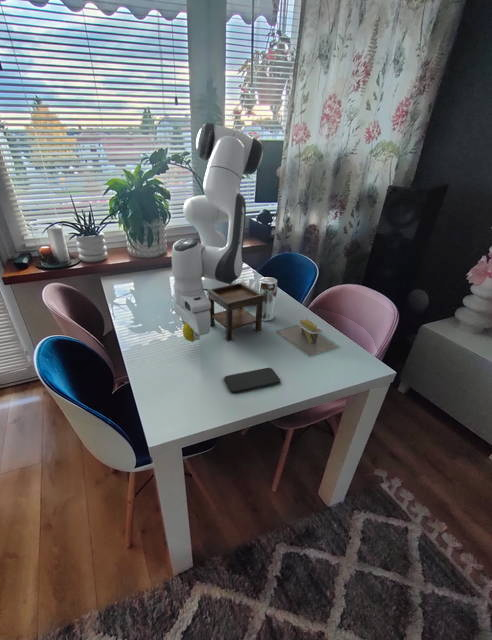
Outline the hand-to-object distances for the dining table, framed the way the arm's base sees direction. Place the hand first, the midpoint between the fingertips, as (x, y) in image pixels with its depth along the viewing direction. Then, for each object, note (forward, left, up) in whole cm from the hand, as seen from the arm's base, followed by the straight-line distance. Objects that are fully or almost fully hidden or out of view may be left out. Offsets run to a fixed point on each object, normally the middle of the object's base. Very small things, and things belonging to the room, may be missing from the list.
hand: (191, 334), depth 107 cm
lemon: (0, 0, -3) cm, 3 cm away
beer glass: (-4, +34, -5) cm, 35 cm away
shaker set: (-18, +34, -5) cm, 39 cm away
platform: (+17, +36, -5) cm, 40 cm away
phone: (+27, +6, -4) cm, 28 cm away
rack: (-3, +19, -4) cm, 20 cm away
